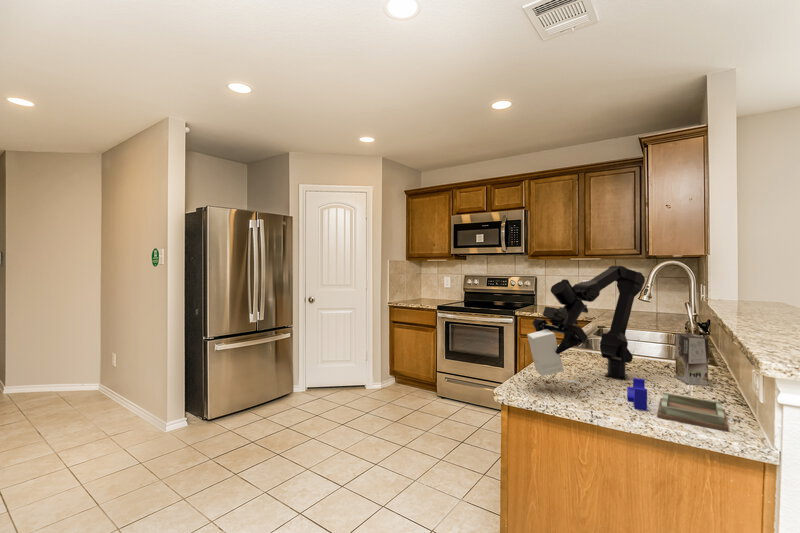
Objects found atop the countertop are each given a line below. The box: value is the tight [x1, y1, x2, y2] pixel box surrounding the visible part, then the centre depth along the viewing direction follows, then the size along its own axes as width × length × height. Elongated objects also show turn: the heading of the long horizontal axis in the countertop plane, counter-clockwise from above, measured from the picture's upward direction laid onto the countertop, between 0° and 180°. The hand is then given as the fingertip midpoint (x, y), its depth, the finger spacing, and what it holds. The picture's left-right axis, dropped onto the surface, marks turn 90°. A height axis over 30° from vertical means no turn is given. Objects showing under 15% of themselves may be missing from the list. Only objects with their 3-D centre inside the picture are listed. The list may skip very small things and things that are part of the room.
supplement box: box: [527, 329, 564, 377], centre depth 130 cm, size 7×7×13 cm
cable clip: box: [626, 377, 648, 412], centre depth 119 cm, size 12×4×6 cm, turn 152°
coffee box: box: [675, 333, 710, 386], centre depth 141 cm, size 9×6×16 cm
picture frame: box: [656, 392, 730, 432], centre depth 110 cm, size 15×15×3 cm
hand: (545, 350), depth 130 cm, fingers closed on supplement box, 9 cm apart
